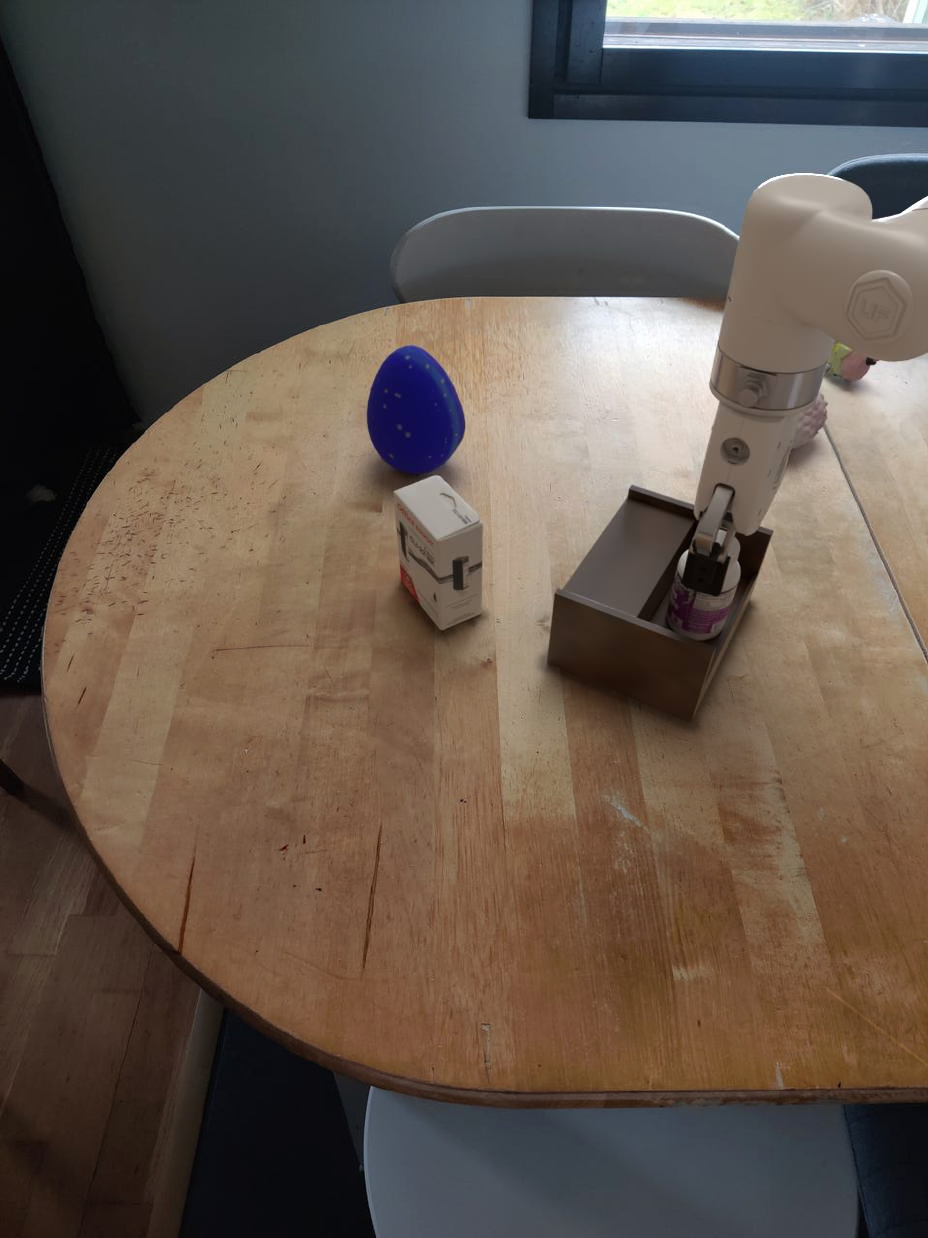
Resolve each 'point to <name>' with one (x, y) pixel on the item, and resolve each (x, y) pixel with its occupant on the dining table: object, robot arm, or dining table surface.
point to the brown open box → (644, 607)
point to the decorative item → (810, 422)
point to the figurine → (848, 363)
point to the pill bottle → (703, 600)
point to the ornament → (414, 412)
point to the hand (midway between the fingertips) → (719, 554)
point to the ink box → (440, 550)
